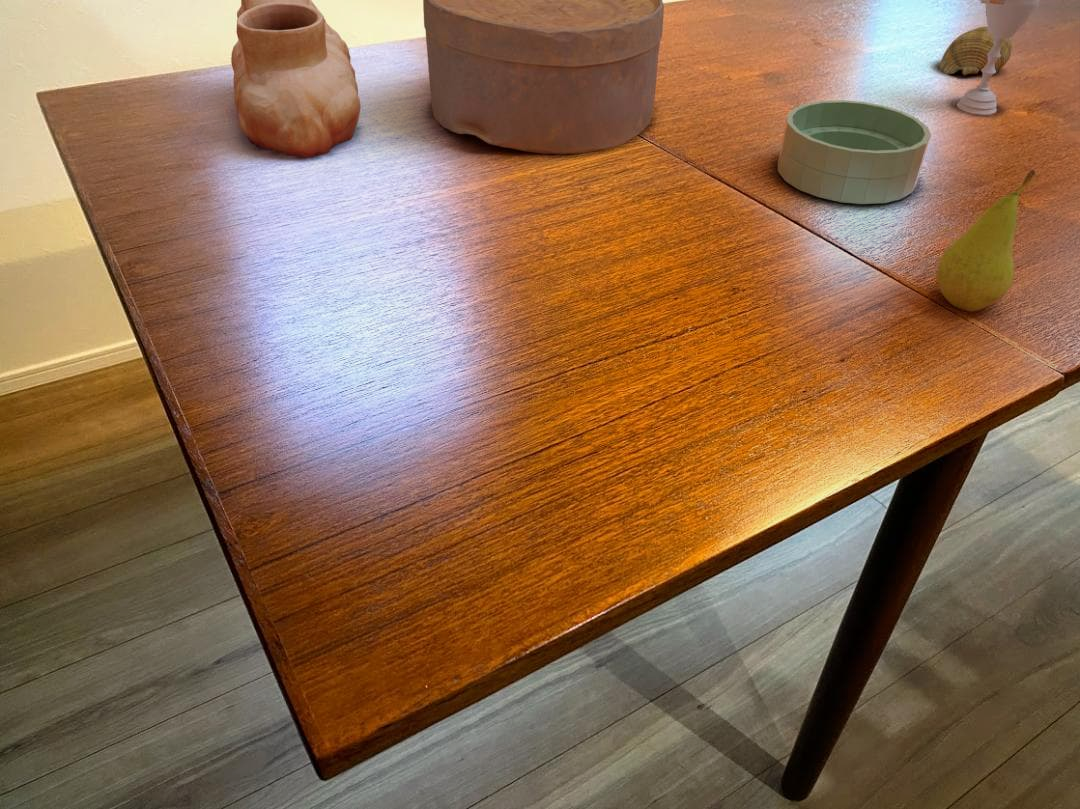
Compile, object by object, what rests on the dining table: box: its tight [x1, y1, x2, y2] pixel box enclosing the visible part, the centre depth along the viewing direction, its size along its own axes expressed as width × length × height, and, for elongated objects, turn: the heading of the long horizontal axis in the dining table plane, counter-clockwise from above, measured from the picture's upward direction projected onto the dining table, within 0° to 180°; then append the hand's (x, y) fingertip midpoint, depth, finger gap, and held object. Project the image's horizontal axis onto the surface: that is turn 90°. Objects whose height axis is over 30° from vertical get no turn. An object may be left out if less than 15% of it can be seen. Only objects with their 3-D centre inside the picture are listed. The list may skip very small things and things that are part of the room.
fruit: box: [935, 169, 1036, 313], centre depth 71 cm, size 6×6×12 cm
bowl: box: [777, 99, 932, 205], centre depth 93 cm, size 14×14×6 cm
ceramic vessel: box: [230, 0, 361, 158], centre depth 101 cm, size 14×26×15 cm, turn 18°
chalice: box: [956, 0, 1041, 116], centre depth 105 cm, size 7×7×18 cm
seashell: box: [938, 26, 1013, 76], centre depth 121 cm, size 10×7×8 cm
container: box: [422, 0, 665, 155], centre depth 103 cm, size 28×28×15 cm
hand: (1064, 9), depth 61 cm, fingers open, 8 cm apart
